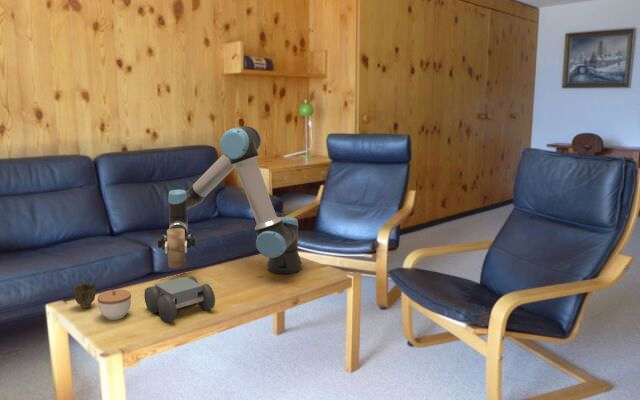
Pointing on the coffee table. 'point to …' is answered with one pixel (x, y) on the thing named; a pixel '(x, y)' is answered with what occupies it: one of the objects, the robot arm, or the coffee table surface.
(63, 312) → the coffee table surface
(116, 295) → the lidded jar
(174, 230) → the tan wooden cylinder
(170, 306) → the trolley
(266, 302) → the coffee table surface
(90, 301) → the dark brown textured bowl
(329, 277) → the coffee table surface
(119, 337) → the coffee table surface
